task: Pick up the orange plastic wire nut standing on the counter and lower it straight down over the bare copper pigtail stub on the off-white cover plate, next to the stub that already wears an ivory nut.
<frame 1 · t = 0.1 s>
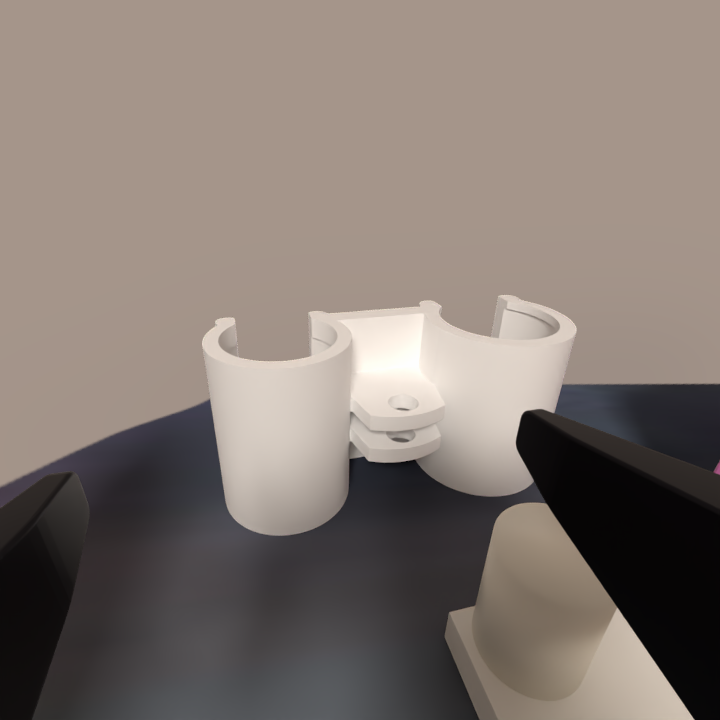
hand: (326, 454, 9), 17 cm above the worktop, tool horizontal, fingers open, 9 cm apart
white multi-cup holder: (391, 472, 33), on the worktop
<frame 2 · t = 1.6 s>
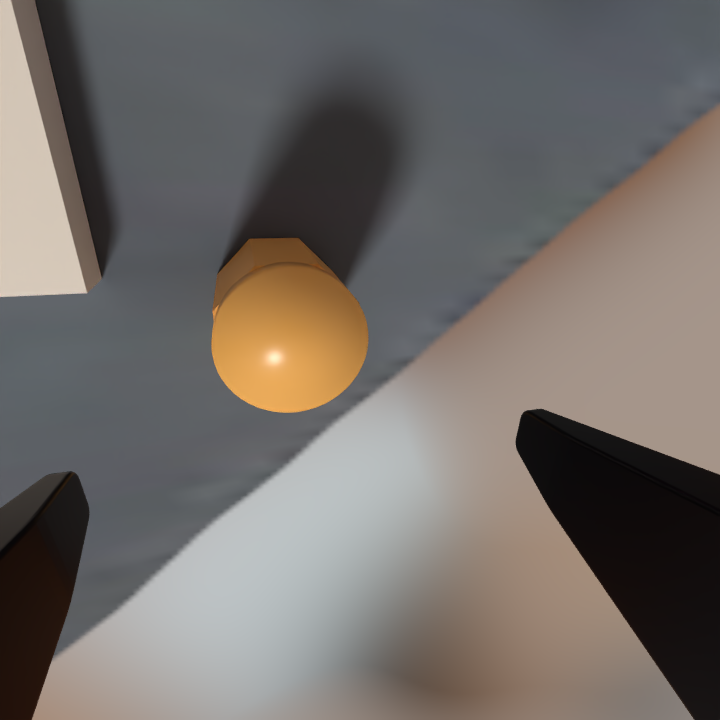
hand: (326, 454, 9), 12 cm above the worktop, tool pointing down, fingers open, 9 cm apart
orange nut: (277, 294, 19), on the worktop
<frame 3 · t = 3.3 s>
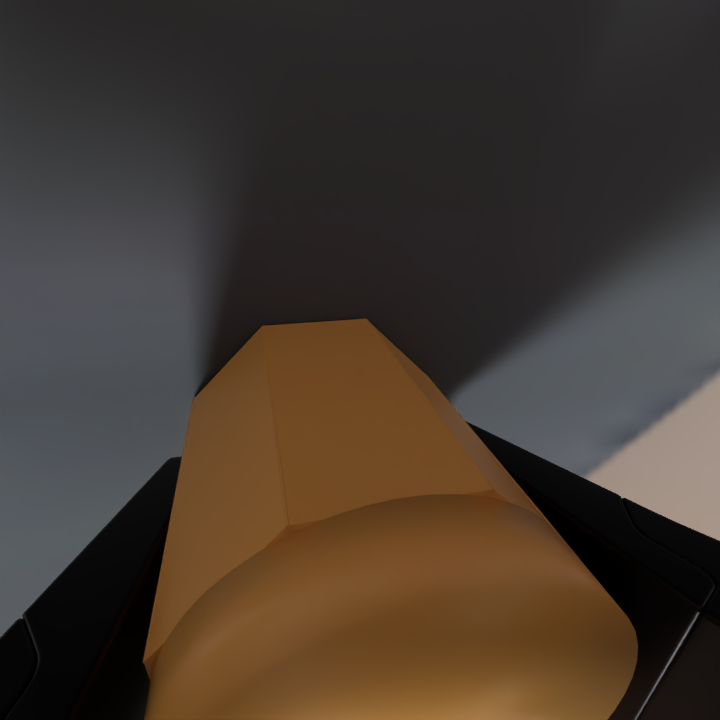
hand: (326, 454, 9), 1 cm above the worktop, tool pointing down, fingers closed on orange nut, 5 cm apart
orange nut: (318, 426, 9), on the worktop, touching gripper
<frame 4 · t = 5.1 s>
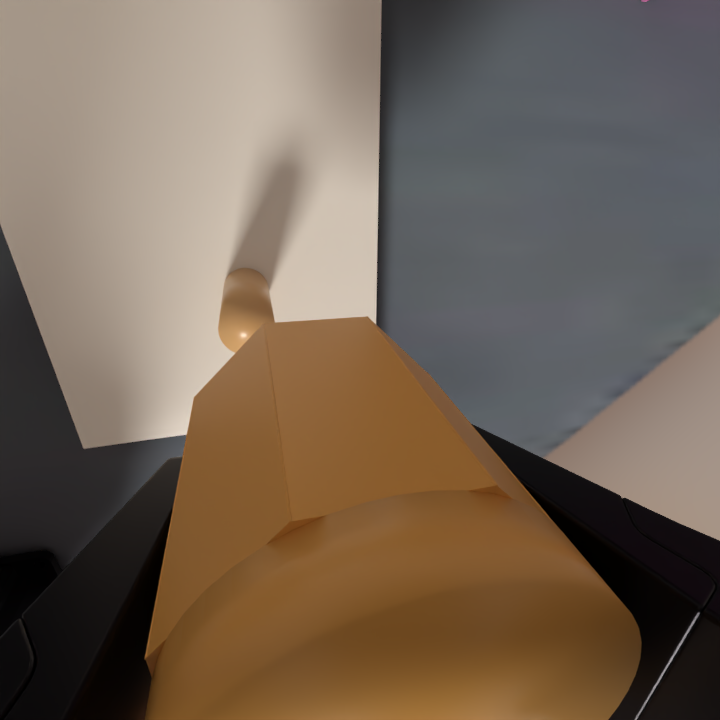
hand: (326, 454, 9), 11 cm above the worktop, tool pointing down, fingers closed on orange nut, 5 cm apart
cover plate: (204, 168, 15), on the worktop
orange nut: (319, 424, 9), point 10 cm above the worktop, touching gripper
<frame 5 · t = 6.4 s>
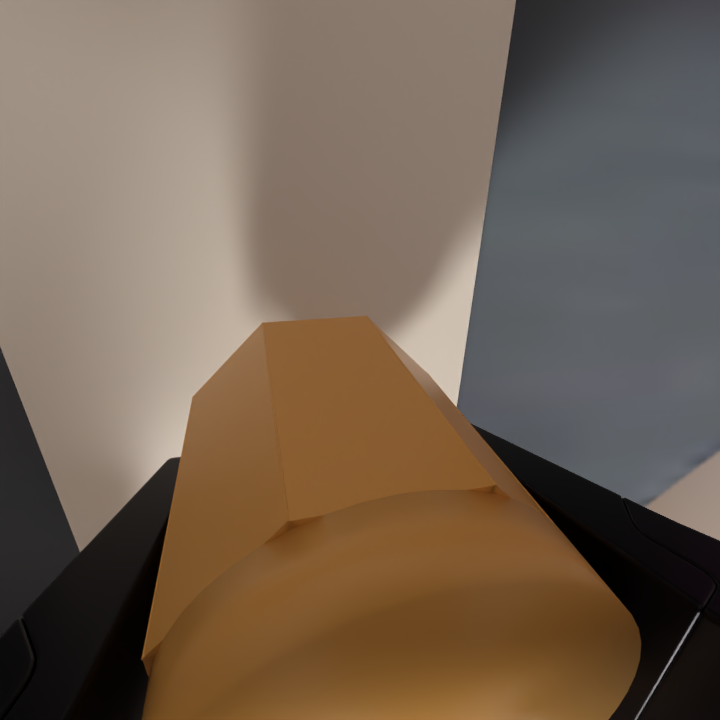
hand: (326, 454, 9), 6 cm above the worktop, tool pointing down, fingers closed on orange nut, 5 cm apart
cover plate: (253, 209, 12), on the worktop
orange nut: (318, 424, 9), point 5 cm above the worktop, touching gripper
when the fingers open (4 cm above the worktop, at t = 7.2 s): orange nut drops 1 cm, resting on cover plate.
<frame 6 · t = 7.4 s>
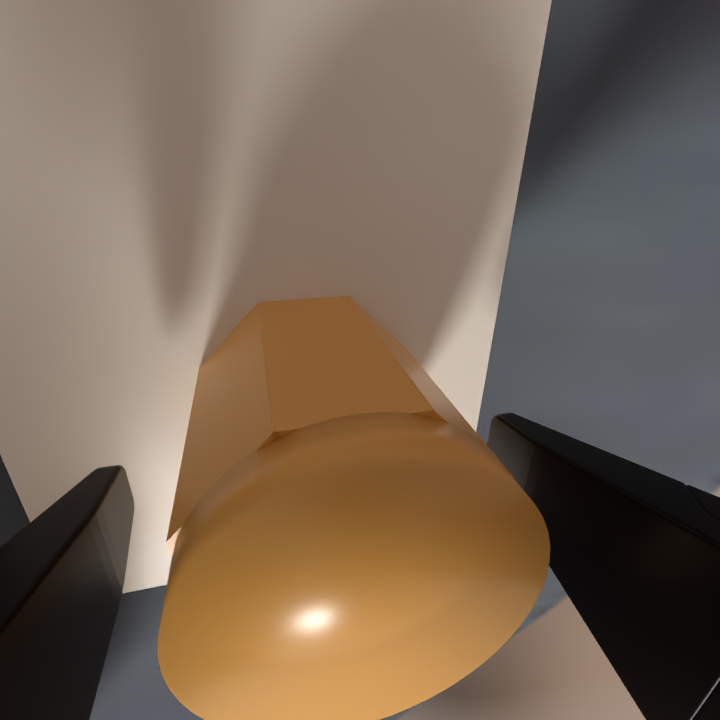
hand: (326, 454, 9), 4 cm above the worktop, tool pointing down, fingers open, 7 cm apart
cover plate: (253, 217, 10), on the worktop
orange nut: (309, 393, 11), point 2 cm above the worktop, touching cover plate
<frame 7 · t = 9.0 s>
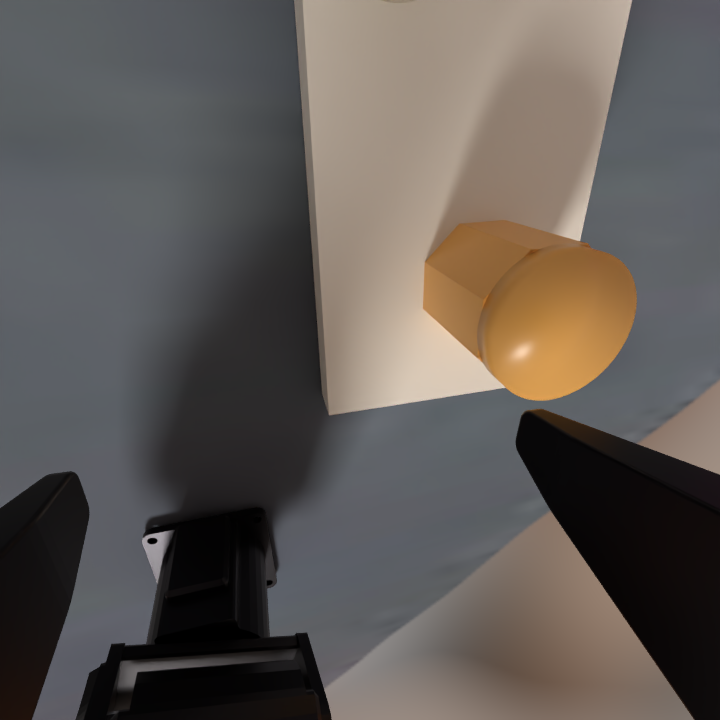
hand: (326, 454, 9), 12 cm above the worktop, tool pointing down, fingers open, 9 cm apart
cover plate: (443, 179, 18), on the worktop
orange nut: (476, 279, 19), point 2 cm above the worktop, touching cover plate
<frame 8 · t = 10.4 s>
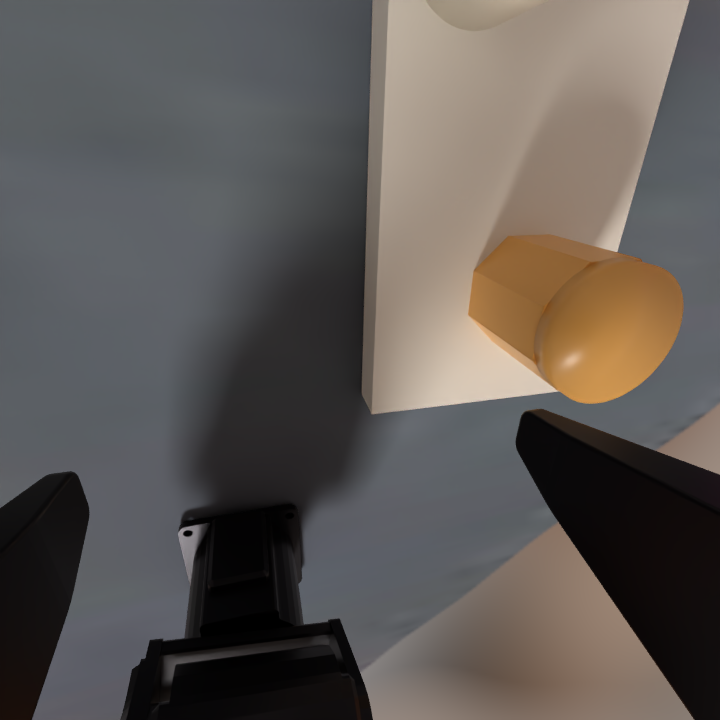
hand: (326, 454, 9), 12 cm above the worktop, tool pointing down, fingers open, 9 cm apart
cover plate: (491, 194, 20), on the worktop
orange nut: (519, 289, 20), point 2 cm above the worktop, touching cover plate
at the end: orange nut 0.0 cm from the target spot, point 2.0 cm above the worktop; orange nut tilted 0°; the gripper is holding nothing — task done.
